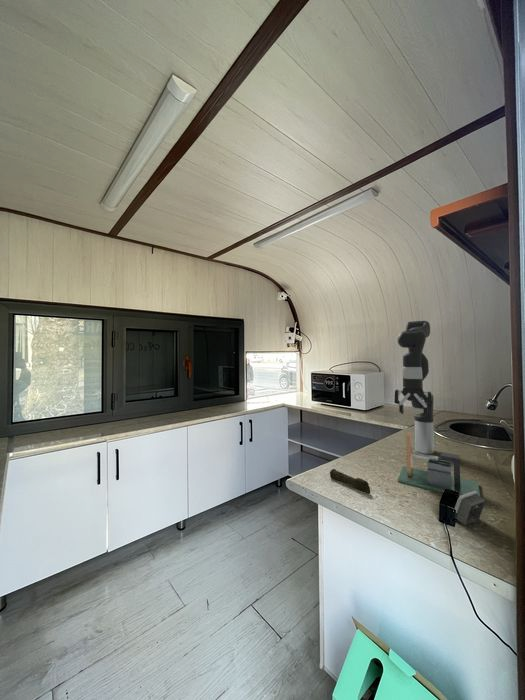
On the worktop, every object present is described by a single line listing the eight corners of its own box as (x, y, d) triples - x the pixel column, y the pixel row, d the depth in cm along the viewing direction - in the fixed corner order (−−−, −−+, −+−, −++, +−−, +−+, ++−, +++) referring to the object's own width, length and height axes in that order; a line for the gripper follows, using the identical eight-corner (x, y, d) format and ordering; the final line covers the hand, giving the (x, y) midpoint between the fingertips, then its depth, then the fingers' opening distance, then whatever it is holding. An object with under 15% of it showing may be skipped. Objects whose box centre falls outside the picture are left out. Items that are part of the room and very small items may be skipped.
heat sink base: (403, 468, 129) (403, 441, 129) (477, 484, 112) (477, 454, 112) (397, 481, 116) (397, 451, 116) (480, 502, 99) (479, 467, 99)
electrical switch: (468, 512, 93) (470, 487, 92) (485, 522, 88) (487, 496, 87) (450, 519, 89) (452, 493, 88) (467, 530, 84) (470, 502, 84)
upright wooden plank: (409, 470, 123) (408, 431, 123) (438, 477, 116) (437, 435, 116) (407, 475, 118) (406, 434, 118) (438, 482, 111) (437, 439, 111)
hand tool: (329, 478, 120) (329, 468, 120) (335, 476, 122) (335, 466, 122) (365, 497, 104) (365, 485, 104) (372, 494, 106) (371, 482, 106)
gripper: (432, 377, 114) (433, 415, 114) (395, 376, 122) (396, 411, 122) (431, 378, 108) (432, 418, 108) (392, 377, 116) (393, 414, 116)
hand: (413, 414), depth 115 cm, fingers open, 8 cm apart
